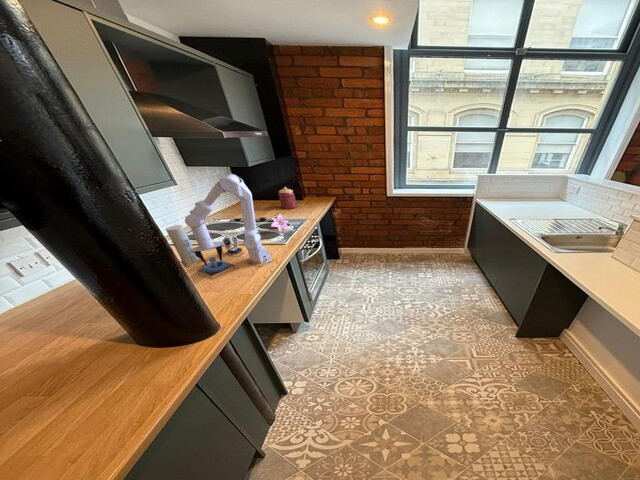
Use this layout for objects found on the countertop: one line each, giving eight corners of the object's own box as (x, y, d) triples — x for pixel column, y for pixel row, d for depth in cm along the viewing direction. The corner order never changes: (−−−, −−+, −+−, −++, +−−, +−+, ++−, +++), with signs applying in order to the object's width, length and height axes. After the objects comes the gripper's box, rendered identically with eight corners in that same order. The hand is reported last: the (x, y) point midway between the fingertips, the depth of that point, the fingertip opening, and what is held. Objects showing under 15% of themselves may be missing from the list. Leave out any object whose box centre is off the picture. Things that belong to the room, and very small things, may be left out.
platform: (236, 267, 127) (233, 259, 124) (212, 278, 117) (208, 269, 115) (221, 262, 131) (218, 254, 128) (197, 273, 121) (192, 264, 119)
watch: (226, 257, 137) (218, 239, 131) (236, 251, 143) (229, 233, 138) (235, 257, 136) (228, 239, 131) (245, 251, 143) (238, 233, 138)
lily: (270, 234, 169) (272, 223, 164) (268, 223, 175) (270, 212, 170) (289, 236, 177) (291, 226, 171) (287, 225, 183) (289, 215, 177)
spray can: (187, 261, 131) (168, 226, 121) (201, 259, 133) (184, 224, 123) (182, 267, 126) (163, 230, 116) (197, 265, 128) (179, 228, 118)
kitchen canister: (283, 205, 227) (278, 185, 218) (298, 205, 229) (294, 185, 220) (279, 209, 216) (274, 188, 207) (295, 209, 218) (291, 188, 209)
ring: (228, 268, 123) (226, 263, 122) (206, 274, 118) (204, 268, 116) (224, 259, 131) (221, 254, 129) (203, 265, 126) (200, 259, 124)
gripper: (219, 232, 127) (228, 255, 134) (183, 239, 118) (195, 263, 125) (221, 236, 122) (231, 260, 129) (184, 243, 114) (197, 269, 121)
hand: (213, 262), depth 127 cm, fingers open, 6 cm apart
